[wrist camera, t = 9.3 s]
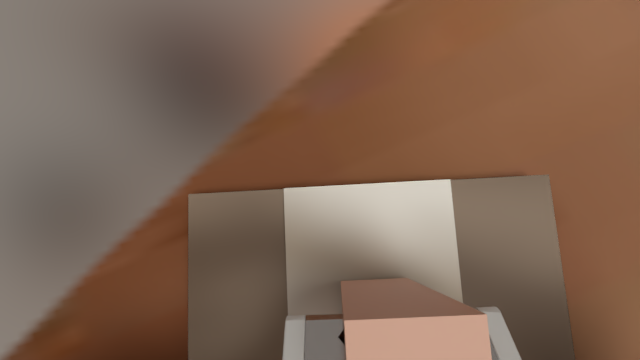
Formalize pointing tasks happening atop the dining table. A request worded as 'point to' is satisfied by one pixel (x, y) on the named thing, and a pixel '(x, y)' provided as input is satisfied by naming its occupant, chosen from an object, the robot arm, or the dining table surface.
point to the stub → (409, 323)
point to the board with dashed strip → (373, 257)
